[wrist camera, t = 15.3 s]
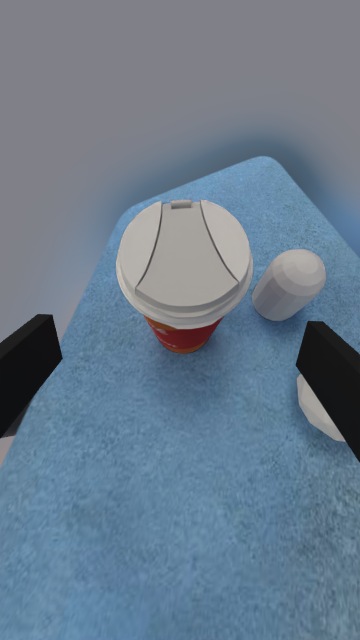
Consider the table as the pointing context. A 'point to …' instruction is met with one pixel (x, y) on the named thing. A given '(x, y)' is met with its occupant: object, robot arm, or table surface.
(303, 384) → the geometric ball
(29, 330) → the robot arm
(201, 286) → the coffee cup
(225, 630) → the table surface
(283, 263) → the capsule
